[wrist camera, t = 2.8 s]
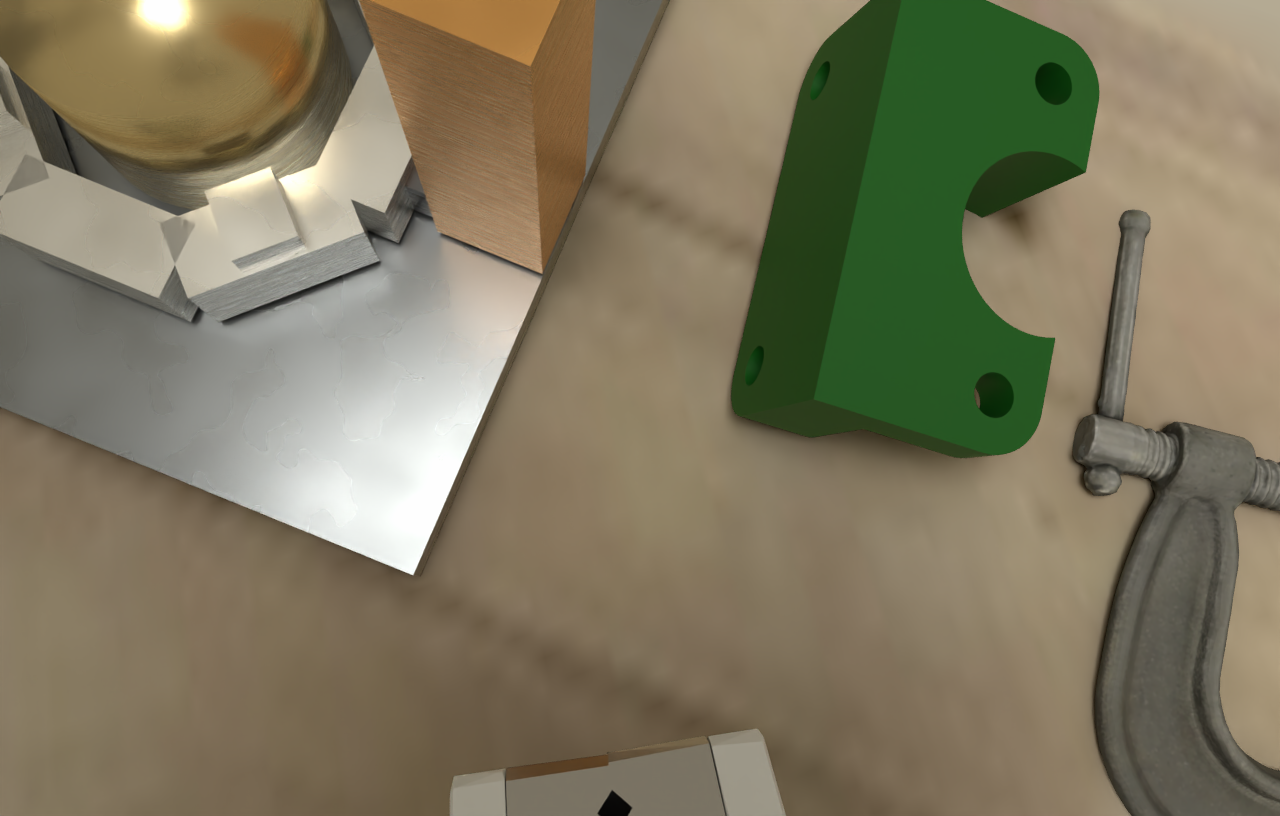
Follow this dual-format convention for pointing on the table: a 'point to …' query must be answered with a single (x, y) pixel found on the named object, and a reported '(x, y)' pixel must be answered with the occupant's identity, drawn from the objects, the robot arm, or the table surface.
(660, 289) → the table surface
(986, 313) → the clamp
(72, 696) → the table surface
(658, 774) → the robot arm
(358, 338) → the base plate
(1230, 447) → the c clamp
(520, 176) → the ring of rectangular blocks
